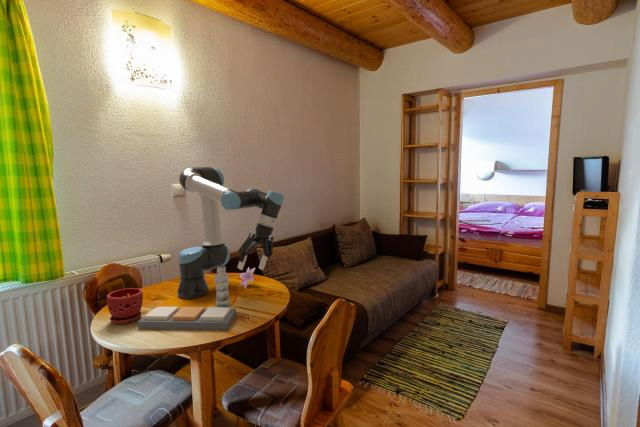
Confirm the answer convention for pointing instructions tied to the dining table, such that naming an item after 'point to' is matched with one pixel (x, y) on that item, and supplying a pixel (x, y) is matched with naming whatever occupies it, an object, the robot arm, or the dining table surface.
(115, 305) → the plant pot
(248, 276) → the lily
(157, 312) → the pale key
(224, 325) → the keypad frame
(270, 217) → the robot arm
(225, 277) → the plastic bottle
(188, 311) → the orange key
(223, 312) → the pale key
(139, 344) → the dining table surface
